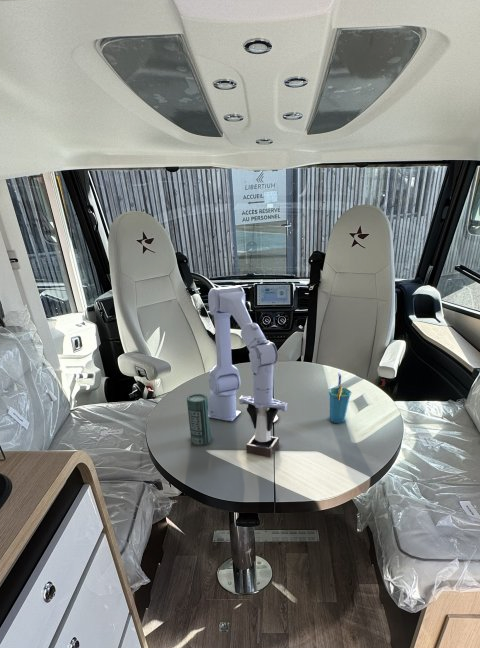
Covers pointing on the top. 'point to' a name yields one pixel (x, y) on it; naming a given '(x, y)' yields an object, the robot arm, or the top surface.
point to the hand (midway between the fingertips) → (262, 428)
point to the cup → (338, 402)
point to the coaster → (275, 418)
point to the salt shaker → (262, 426)
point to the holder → (260, 450)
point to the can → (199, 419)
